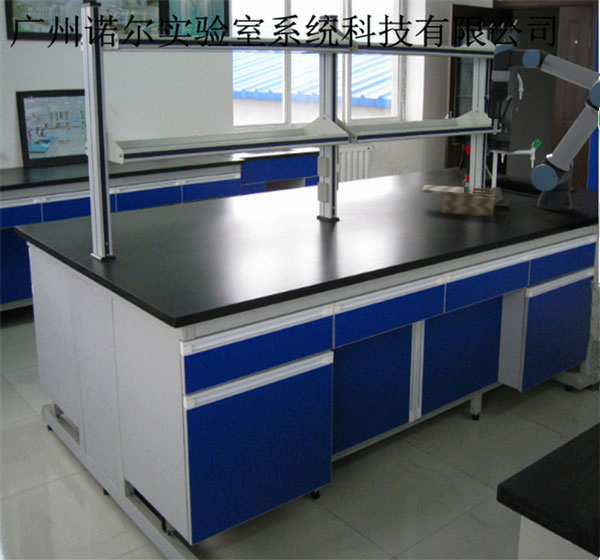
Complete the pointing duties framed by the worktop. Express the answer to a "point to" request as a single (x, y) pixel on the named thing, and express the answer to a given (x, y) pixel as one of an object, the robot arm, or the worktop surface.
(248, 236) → the worktop surface
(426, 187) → the cover plate
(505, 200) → the stone
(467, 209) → the box
